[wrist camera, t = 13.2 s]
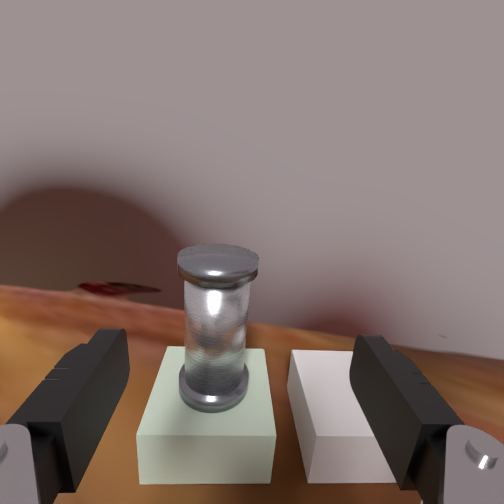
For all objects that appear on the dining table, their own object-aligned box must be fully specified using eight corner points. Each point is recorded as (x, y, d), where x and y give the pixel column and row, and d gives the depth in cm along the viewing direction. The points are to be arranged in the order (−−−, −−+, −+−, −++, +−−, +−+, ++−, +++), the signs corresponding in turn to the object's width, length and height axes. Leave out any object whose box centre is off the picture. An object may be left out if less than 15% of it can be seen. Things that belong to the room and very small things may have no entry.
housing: (246, 362, 28) (256, 245, 25) (249, 413, 23) (262, 272, 19) (185, 360, 28) (184, 242, 24) (172, 412, 22) (169, 268, 19)
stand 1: (260, 386, 32) (264, 349, 31) (270, 483, 23) (276, 435, 21) (168, 385, 31) (167, 346, 30) (139, 484, 22) (136, 435, 20)
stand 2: (373, 389, 33) (382, 352, 32) (427, 482, 24) (445, 436, 22) (286, 387, 32) (291, 349, 31) (307, 483, 23) (316, 436, 21)
